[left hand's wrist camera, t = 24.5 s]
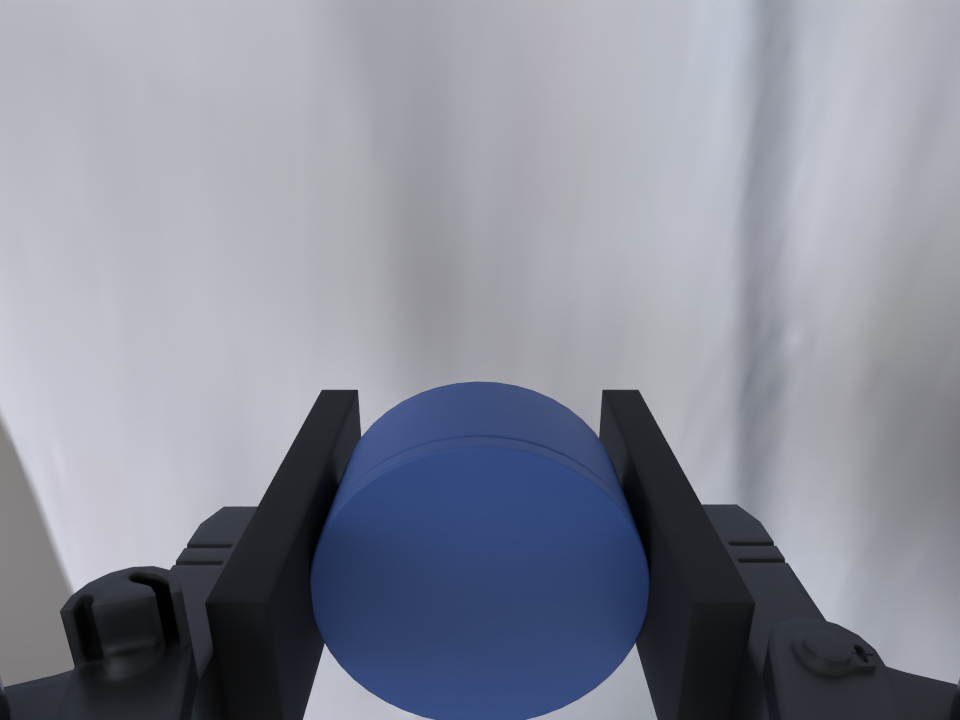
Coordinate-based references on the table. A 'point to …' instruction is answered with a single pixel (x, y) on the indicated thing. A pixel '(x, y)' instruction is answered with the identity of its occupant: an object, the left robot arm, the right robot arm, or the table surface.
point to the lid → (479, 557)
